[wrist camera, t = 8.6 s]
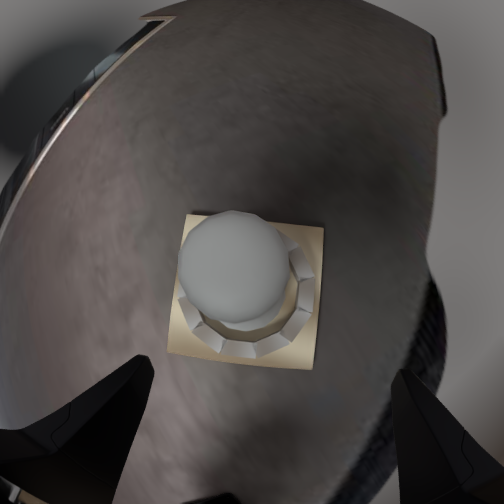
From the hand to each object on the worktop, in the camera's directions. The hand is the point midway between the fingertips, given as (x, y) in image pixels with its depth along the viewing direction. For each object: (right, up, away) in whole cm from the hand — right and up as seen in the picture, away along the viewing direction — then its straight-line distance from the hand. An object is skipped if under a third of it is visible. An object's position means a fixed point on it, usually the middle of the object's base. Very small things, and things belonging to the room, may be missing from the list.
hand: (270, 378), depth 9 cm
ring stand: (-1, +1, +14) cm, 14 cm away
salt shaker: (-1, +1, +14) cm, 14 cm away
